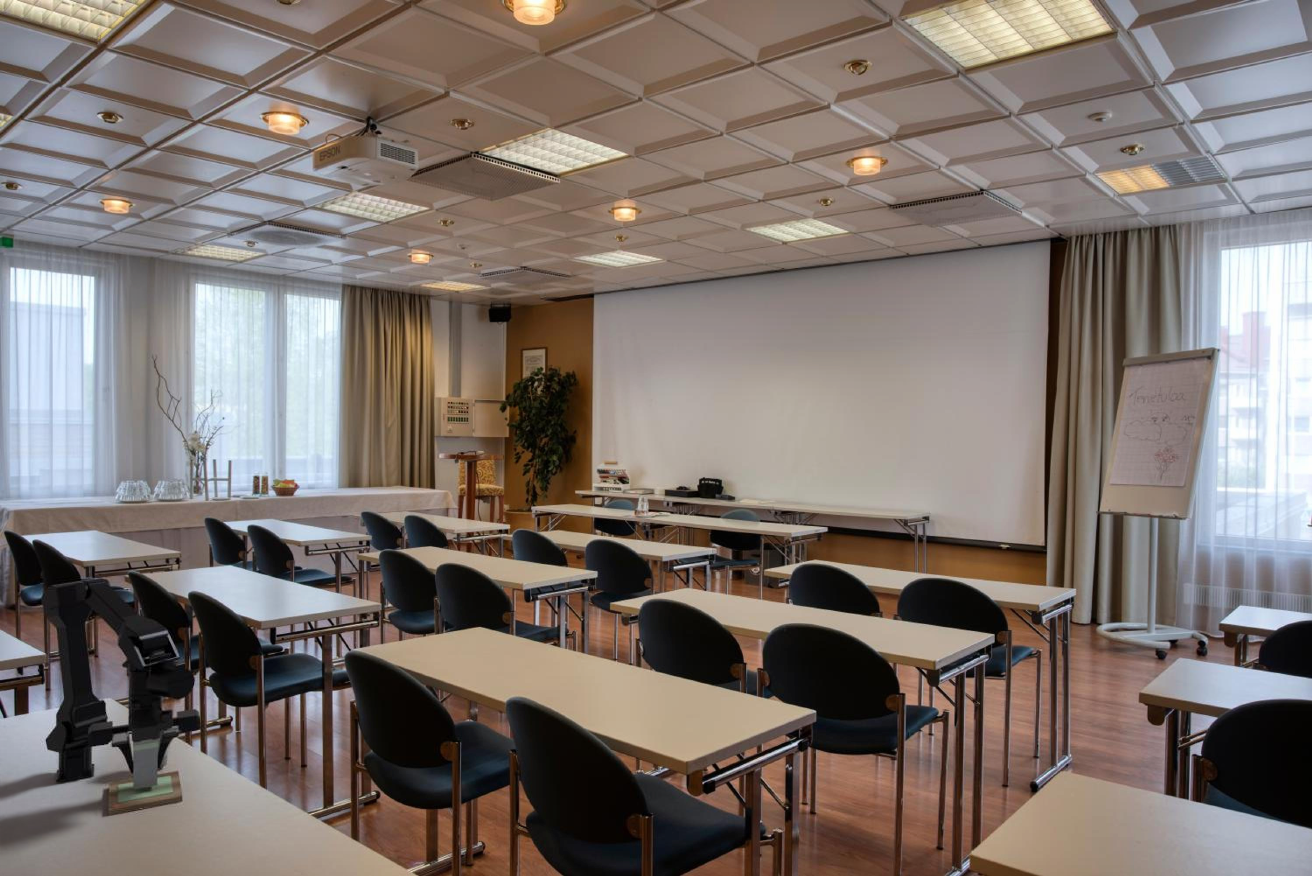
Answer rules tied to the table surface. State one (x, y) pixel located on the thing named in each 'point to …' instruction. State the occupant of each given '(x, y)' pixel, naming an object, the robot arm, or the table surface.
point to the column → (145, 763)
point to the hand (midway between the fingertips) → (145, 770)
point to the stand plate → (144, 794)
